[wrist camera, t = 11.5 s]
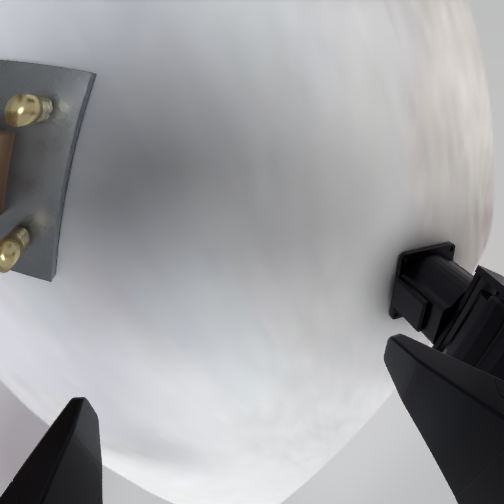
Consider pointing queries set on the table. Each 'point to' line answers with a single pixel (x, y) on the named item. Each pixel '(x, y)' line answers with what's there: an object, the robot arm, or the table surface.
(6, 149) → the walnut block
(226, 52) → the table surface
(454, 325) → the robot arm
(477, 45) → the table surface
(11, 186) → the standoff plate
